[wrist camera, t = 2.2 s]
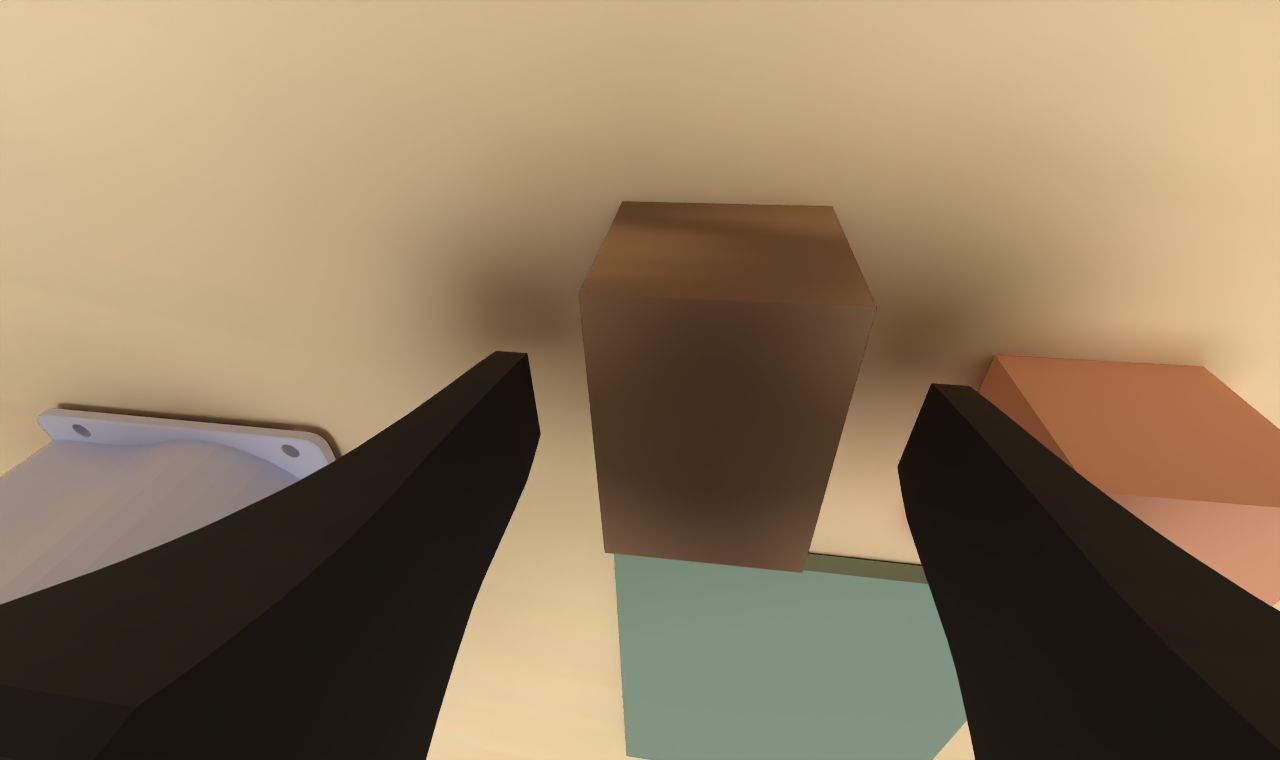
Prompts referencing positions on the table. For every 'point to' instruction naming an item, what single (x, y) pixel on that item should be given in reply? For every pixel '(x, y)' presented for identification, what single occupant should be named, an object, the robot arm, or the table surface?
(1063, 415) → the terracotta brick
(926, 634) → the baseplate
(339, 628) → the robot arm
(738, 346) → the walnut brick
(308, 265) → the table surface
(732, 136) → the table surface
